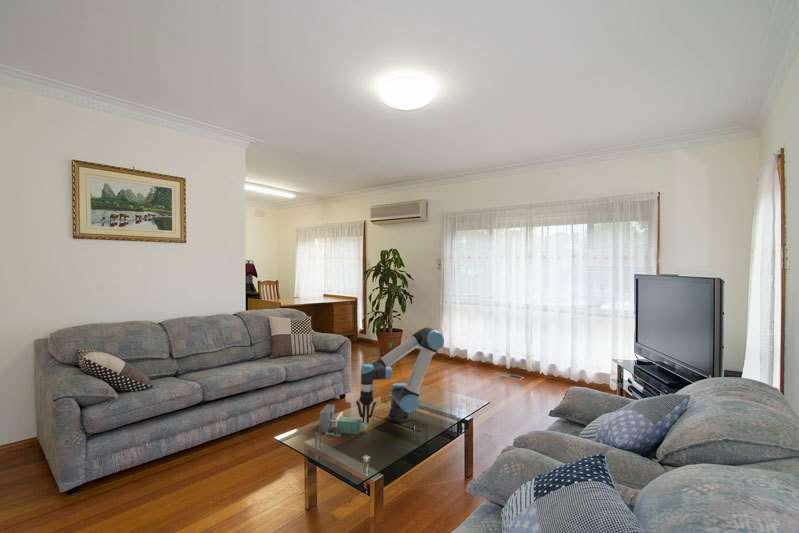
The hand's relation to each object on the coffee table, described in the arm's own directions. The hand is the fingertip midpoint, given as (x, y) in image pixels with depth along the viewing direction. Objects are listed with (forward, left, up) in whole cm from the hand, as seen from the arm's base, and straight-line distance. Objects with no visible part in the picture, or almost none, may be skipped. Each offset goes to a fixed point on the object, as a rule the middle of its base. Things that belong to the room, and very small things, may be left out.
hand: (365, 428), depth 226 cm
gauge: (+20, +1, -2) cm, 20 cm away
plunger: (+23, +2, -2) cm, 23 cm away
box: (+10, +2, -2) cm, 10 cm away
